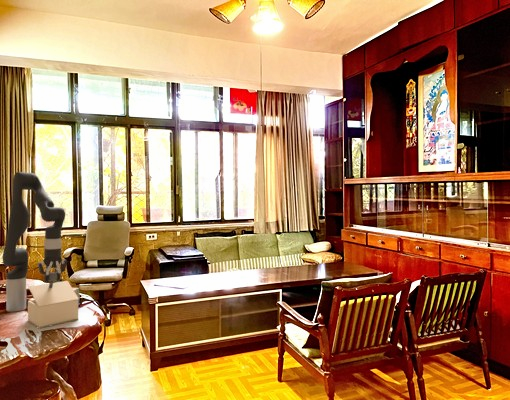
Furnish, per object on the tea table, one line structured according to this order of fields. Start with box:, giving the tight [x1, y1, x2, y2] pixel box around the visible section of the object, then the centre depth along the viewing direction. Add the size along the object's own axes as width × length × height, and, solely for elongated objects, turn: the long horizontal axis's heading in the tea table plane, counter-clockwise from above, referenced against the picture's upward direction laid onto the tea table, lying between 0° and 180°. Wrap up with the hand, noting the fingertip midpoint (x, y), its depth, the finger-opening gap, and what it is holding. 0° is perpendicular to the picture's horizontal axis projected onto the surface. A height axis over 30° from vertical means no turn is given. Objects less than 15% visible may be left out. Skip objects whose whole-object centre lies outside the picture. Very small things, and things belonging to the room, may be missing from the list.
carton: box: [27, 299, 79, 329], centre depth 193 cm, size 16×18×10 cm
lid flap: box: [28, 271, 80, 307], centre depth 191 cm, size 16×18×9 cm
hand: (52, 281), depth 193 cm, fingers closed on lid flap, 4 cm apart
